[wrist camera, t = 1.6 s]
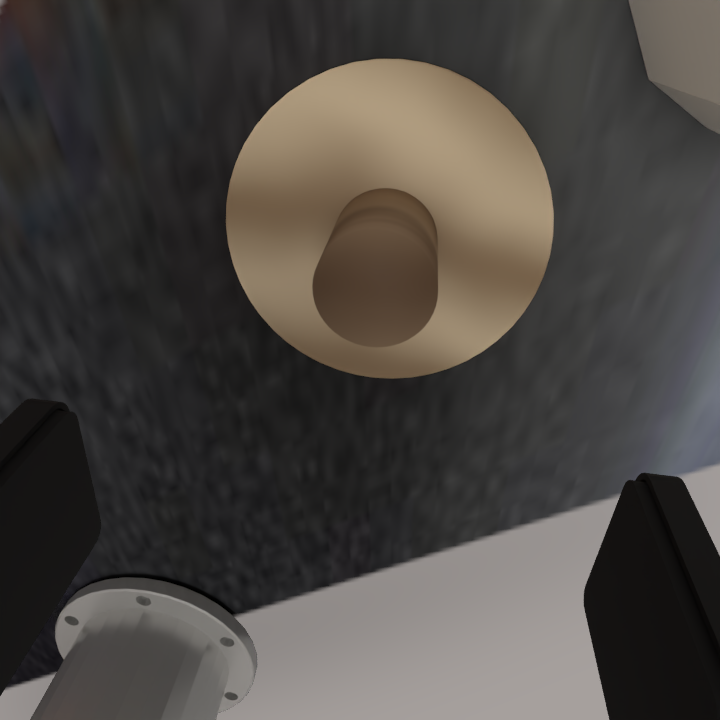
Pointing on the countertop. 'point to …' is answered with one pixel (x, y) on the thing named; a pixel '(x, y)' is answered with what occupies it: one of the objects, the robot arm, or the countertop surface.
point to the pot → (683, 52)
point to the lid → (389, 218)
